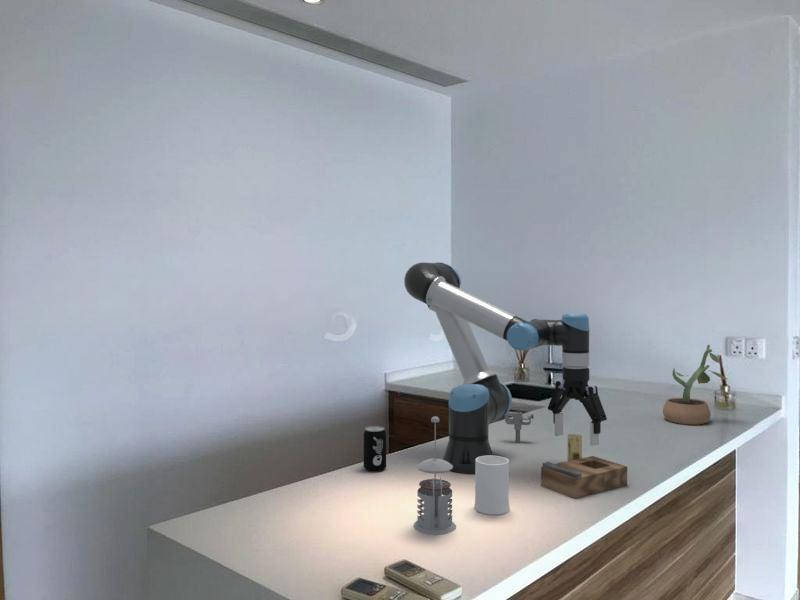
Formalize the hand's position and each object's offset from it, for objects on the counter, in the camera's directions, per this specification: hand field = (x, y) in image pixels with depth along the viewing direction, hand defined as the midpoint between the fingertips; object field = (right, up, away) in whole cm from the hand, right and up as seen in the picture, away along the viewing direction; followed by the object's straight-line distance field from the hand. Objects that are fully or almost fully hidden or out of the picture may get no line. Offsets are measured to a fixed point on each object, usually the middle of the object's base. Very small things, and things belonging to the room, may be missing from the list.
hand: (576, 440), depth 189 cm
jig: (-1, -9, -13) cm, 16 cm away
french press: (-43, -11, -42) cm, 61 cm away
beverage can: (-58, -9, +1) cm, 59 cm away
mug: (-28, -10, -29) cm, 42 cm away
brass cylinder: (0, -9, +1) cm, 9 cm away
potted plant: (+62, -7, +61) cm, 87 cm away
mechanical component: (-11, -8, +31) cm, 34 cm away
